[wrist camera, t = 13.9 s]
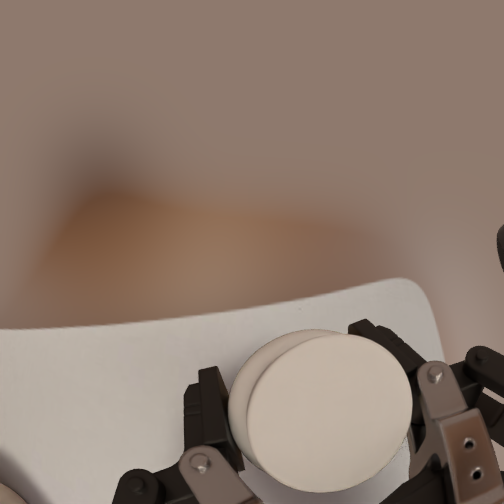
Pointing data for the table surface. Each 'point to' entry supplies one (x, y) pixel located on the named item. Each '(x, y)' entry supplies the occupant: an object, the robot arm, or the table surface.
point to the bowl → (9, 496)
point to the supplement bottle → (320, 409)
